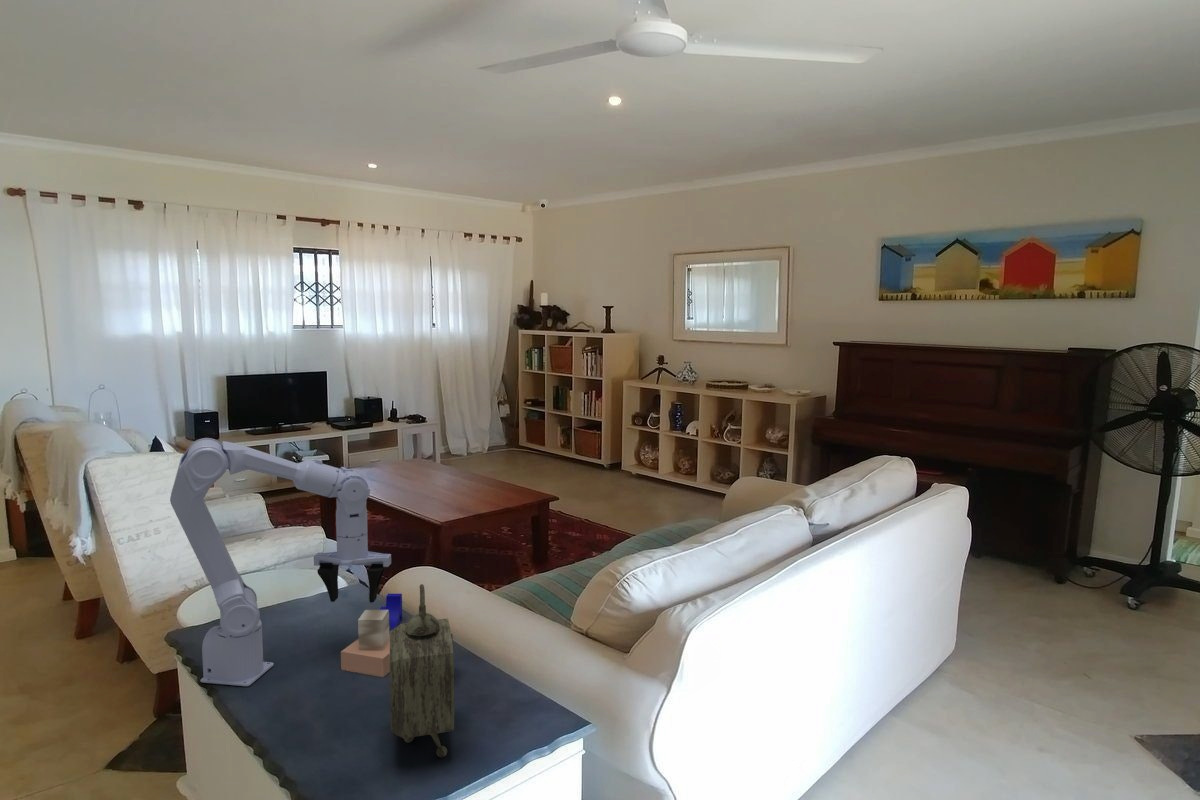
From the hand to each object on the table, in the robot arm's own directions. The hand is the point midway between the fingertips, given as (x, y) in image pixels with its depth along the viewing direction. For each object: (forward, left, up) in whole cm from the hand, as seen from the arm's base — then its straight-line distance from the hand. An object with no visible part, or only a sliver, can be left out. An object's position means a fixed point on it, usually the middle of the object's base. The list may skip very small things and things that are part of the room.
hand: (353, 600), depth 136 cm
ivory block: (+6, -4, -7) cm, 10 cm away
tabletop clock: (+24, -26, -11) cm, 37 cm away
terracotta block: (+6, -4, -11) cm, 13 cm away
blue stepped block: (+2, +9, -11) cm, 14 cm away
